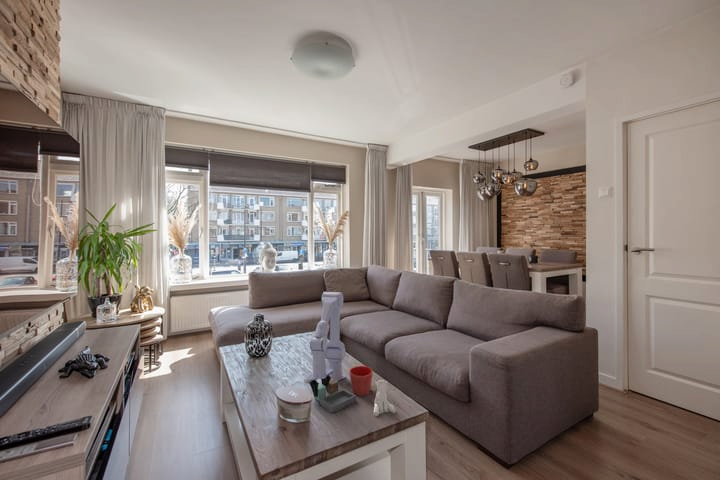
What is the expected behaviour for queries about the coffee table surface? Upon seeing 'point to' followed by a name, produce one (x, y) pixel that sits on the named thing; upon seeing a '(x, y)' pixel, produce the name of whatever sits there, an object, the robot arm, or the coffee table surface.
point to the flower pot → (361, 379)
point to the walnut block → (332, 386)
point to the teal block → (321, 392)
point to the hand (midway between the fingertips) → (319, 394)
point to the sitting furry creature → (382, 399)
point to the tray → (337, 400)
